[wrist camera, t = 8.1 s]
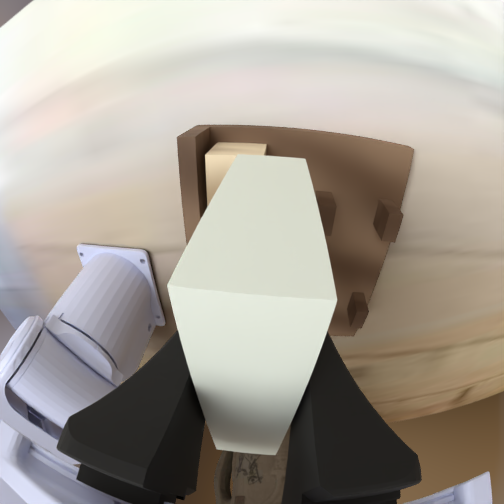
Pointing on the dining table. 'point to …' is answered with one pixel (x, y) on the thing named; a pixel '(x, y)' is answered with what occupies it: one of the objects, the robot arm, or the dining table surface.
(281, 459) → the beer stein
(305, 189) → the panel
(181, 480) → the robot arm
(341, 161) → the rack
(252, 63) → the dining table surface
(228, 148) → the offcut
